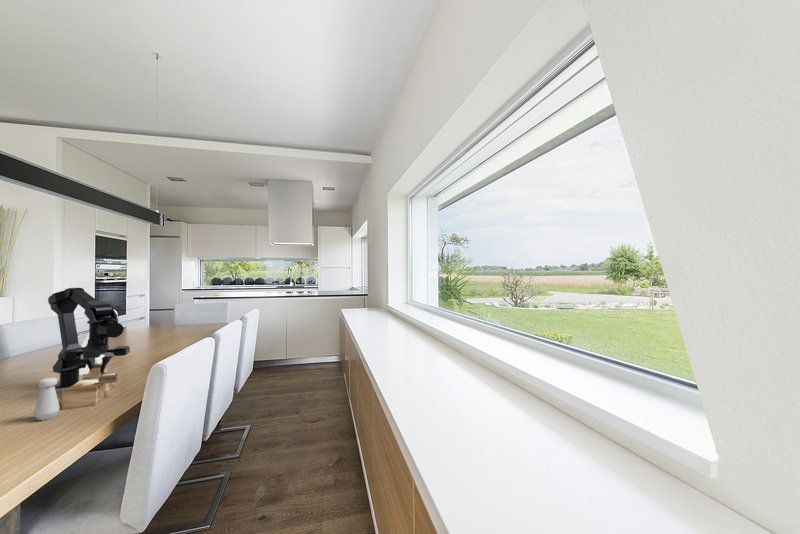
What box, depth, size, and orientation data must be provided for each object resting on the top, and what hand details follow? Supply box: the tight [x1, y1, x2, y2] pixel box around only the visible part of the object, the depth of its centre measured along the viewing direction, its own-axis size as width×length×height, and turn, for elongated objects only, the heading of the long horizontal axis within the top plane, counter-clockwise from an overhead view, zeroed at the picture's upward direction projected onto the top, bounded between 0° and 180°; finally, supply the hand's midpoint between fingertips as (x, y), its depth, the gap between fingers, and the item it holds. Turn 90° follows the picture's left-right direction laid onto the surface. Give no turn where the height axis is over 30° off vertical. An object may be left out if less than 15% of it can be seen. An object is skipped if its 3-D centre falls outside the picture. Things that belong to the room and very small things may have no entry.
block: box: [98, 373, 119, 384], centre depth 122 cm, size 2×5×2 cm, turn 117°
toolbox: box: [61, 372, 118, 411], centre depth 123 cm, size 22×9×7 cm, turn 27°
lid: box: [74, 363, 117, 386], centre depth 126 cm, size 17×9×6 cm, turn 27°
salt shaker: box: [33, 377, 61, 422], centre depth 106 cm, size 6×6×13 cm
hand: (97, 373), depth 128 cm, fingers closed on lid, 2 cm apart
